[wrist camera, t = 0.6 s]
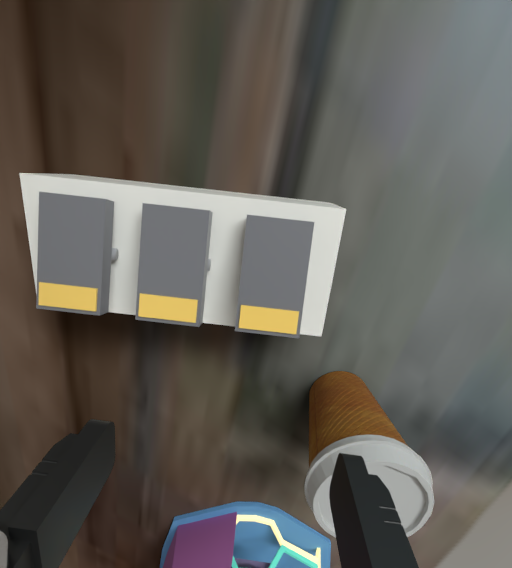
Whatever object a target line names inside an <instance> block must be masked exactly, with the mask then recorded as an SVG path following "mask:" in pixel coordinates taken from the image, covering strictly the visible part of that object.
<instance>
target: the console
mask: <svg viewBox="0 0 512 568" xmlns="http://www.w3.org/2000/svg"><path fill="white" fill-rule="evenodd" d="M19 174H20V181H21V188H22V195H23V202H24V209H25V216H26V224H27V231H28V238H29V245H30V252H31V259H32V266H33V273H34V281H35V288H36V295H37V260H38V216H39V192H48V193H57V194H66V195H75V196H84V197H93V198H102V199H108V200H111V201H114V216H113V235H112V254H111V273H110V293H109V312H112V313H121V314H130V315H136V301H137V285H138V269H139V254H140V238H141V222H142V206H143V203H147V204H156V205H165V206H174V207H183V208H192V209H201V210H210V211H211V212H213V214H212V225H211V236H210V247H209V258H208V268H207V279H206V290H205V301H204V312H203V323H208V324H217V325H226V326H235V324H236V315H237V305H238V296H239V286H240V276H241V267H242V257H243V248H244V238H245V229H246V219H247V215H255V216H264V217H273V218H282V219H291V220H300V221H310V222H314V229H313V236H312V244H311V251H310V259H309V267H308V274H307V282H306V289H305V297H304V304H303V312H302V320H301V327H300V334H305V335H314V336H322V331H323V326H324V321H325V316H326V310H327V305H328V300H329V295H330V290H331V285H332V280H333V275H334V269H335V264H336V259H337V254H338V249H339V244H340V239H341V234H342V228H343V223H344V218H345V213H346V209H345V208H342V207H340V206H337V205H335V204H332V203H328V202H319V201H310V200H301V199H292V198H283V197H274V196H265V195H255V194H246V193H237V192H228V191H219V190H210V189H201V188H192V187H183V186H174V185H165V184H156V183H147V182H137V181H128V180H119V179H110V178H101V177H92V176H83V175H74V174H39V173H19Z"/></svg>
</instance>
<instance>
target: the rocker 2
mask: <svg viewBox="0 0 512 568" xmlns="http://www.w3.org/2000/svg"><path fill="white" fill-rule="evenodd" d="M212 214H213V212H211V211H210V210H201V209H192V208H183V207H174V206H165V205H156V204H147V203H143V206H142V222H141V238H140V254H139V269H138V285H137V301H136V316H135V320H143V321H152V322H160V323H169V324H178V325H187V326H195V327H200V325H201V324H202V323H203V312H204V301H205V290H206V279H207V268H208V258H209V247H210V236H211V225H212Z"/></svg>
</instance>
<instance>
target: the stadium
mask: <svg viewBox="0 0 512 568" xmlns="http://www.w3.org/2000/svg"><path fill="white" fill-rule="evenodd" d="M330 551H331V543H330V539H328V538H326V537H325V536H323V535H322V534H320V533H318V532H317V531H315V530H313V529H312V528H310V527H308V526H307V525H305V524H304V523H302V522H300V521H299V520H297V519H295V518H294V517H292V516H291V515H289V514H287V513H286V512H284V511H282V510H281V509H279V508H277V507H274V506H270V505H267V504H263V503H260V502H233V503H229V504H225V505H221V506H217V507H212V508H208V509H204V510H200V511H196V512H192V513H188V514H184V515H179V516H175V517H174V520H173V522H172V525H171V527H170V530H169V533H168V535H167V538H166V540H165V543H164V546H163V549H162V555H161V562H160V568H330Z"/></svg>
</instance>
